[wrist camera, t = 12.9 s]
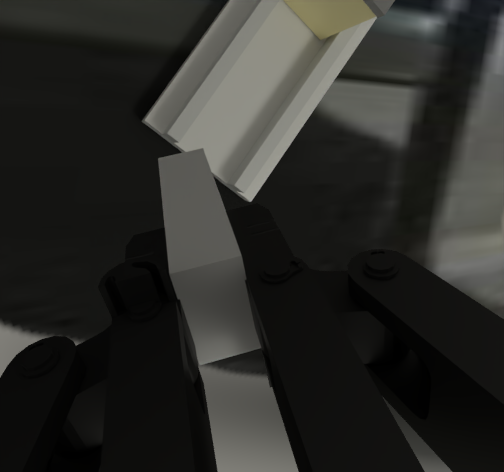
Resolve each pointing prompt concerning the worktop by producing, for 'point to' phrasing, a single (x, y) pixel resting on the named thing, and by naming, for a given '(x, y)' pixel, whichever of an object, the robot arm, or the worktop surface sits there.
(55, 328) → the worktop surface
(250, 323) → the robot arm
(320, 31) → the grey-capped yellow block
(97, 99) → the worktop surface
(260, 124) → the grey channel fixture
